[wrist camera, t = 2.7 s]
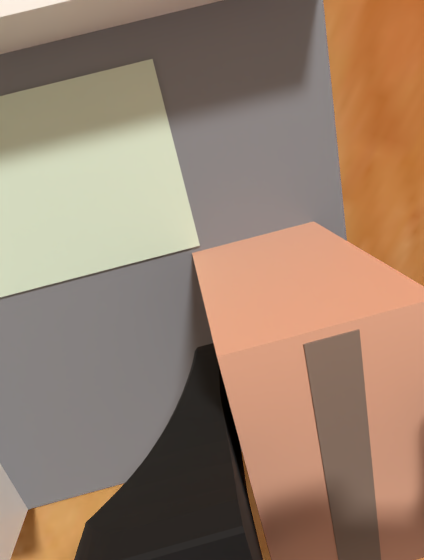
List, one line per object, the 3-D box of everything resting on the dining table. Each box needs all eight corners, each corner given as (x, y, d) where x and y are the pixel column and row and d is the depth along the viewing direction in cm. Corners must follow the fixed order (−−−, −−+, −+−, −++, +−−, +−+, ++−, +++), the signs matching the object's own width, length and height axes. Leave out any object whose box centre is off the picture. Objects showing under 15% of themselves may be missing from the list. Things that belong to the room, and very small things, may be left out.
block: (336, 394, 15) (441, 553, 9) (236, 421, 15) (281, 599, 9) (313, 221, 12) (442, 297, 7) (192, 253, 12) (217, 358, 6)
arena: (357, 407, 16) (399, 467, 13) (3, 504, 16) (-33, 588, 13) (306, -71, 10) (364, -152, 7) (-274, 68, 10) (-462, 40, 7)
